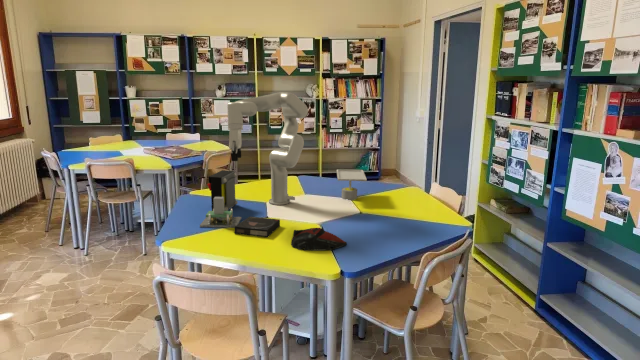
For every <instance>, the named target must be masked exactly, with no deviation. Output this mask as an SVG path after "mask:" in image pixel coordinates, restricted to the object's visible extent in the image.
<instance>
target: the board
mask: <svg viewBox="0 0 640 360" xmlns="http://www.w3.org/2000/svg"><path fill="white" fill-rule="evenodd" d="M213 201H214V211H212V210H208V211H207V213H206V214H205V218H206V217H209V214H211V217H227V214H229V218H230V217H231V215H232V213H233V214H234V212H232V211H231V210H228V211H224V197H214V198H213Z"/></svg>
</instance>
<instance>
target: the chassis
mask: <svg viewBox="0 0 640 360" xmlns="http://www.w3.org/2000/svg"><path fill="white" fill-rule="evenodd" d="M213 211H214V208H213ZM230 211H232V212H233V208H230ZM233 214H234V212H233V213H232V215H231V217H230V218H229V214H227V217H211V214H209V217H206V216H205V218H204V219H203V220H202V222H201V223H200V224H199V228H226V229H227V228H231V229H232V228H233V229H235V226H236V225H238V224H239V223H241V220H242V216H234V215H233Z"/></svg>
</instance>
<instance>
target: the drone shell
mask: <svg viewBox="0 0 640 360" xmlns="http://www.w3.org/2000/svg"><path fill="white" fill-rule="evenodd" d="M347 244H348V243H347V241H345V240H343V239H342V238H340V237H339V236H337V234H334V233H332V232H329V231H326V230H324V229H323V228H322V227H311V228H305V229H294V230H293V234H292V237H291V242H290V245H291V247H292V248H294V249H296V250H300V251H302V250H303V251H331V250H332V251H333V250H334V249H338V248H342V247H345V246H346V245H347Z"/></svg>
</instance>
